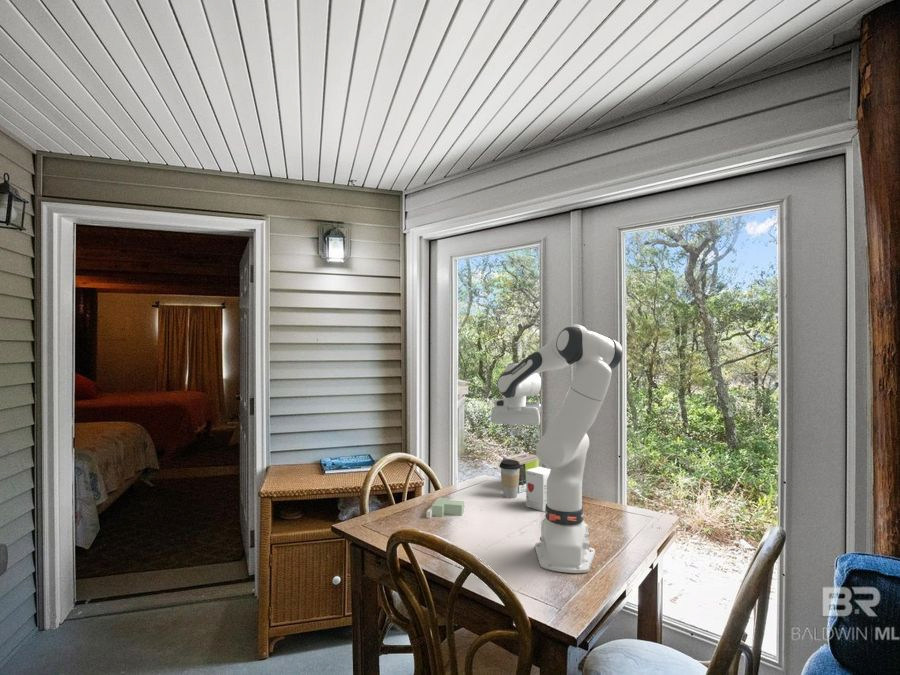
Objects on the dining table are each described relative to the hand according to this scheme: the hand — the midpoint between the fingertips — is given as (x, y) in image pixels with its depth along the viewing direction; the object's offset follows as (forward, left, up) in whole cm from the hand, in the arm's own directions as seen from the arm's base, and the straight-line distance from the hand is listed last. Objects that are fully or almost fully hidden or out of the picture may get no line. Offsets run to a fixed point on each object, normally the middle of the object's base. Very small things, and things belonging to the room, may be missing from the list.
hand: (515, 435), depth 192 cm
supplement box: (+2, -10, -29) cm, 31 cm away
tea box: (+26, 0, -29) cm, 39 cm away
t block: (-14, +25, -29) cm, 41 cm away
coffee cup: (+12, +4, -29) cm, 32 cm away
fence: (-14, +26, -29) cm, 41 cm away
